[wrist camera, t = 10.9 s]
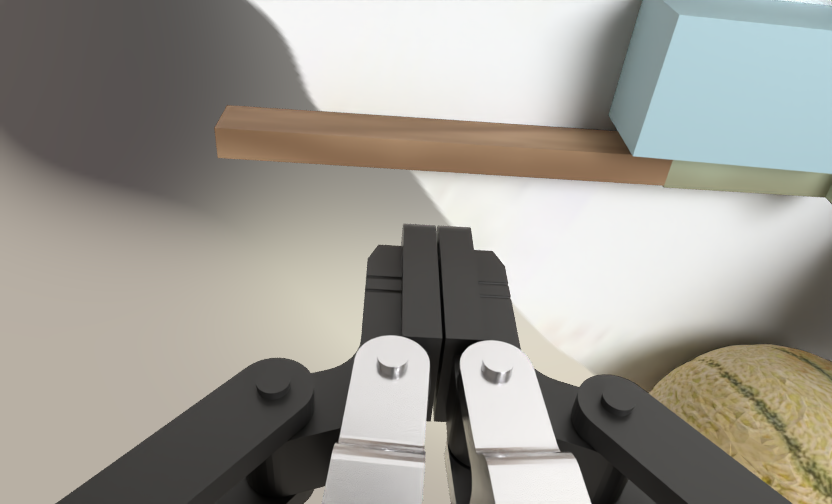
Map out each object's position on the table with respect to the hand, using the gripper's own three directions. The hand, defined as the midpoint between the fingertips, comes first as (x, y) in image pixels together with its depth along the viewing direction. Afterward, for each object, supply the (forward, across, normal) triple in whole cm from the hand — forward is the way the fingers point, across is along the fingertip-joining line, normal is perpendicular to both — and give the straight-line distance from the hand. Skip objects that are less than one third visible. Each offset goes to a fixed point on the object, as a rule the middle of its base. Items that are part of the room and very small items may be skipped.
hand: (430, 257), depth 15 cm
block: (+18, -15, +1) cm, 23 cm away
